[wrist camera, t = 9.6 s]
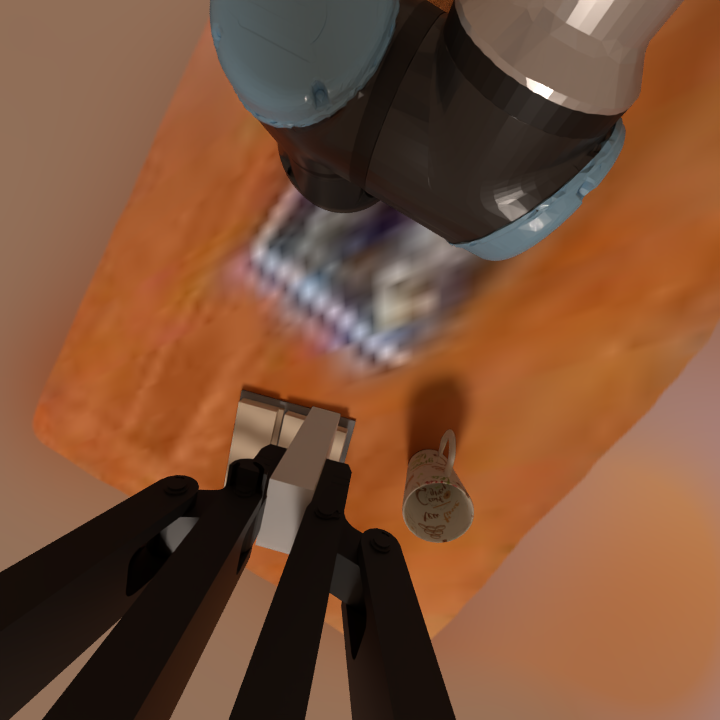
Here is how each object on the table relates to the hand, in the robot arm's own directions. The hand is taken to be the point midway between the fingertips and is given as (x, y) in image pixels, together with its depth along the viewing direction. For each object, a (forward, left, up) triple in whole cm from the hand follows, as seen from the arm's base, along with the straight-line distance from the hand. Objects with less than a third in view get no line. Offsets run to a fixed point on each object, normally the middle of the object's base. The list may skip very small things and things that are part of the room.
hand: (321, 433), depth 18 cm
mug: (+14, +14, -30) cm, 36 cm away
